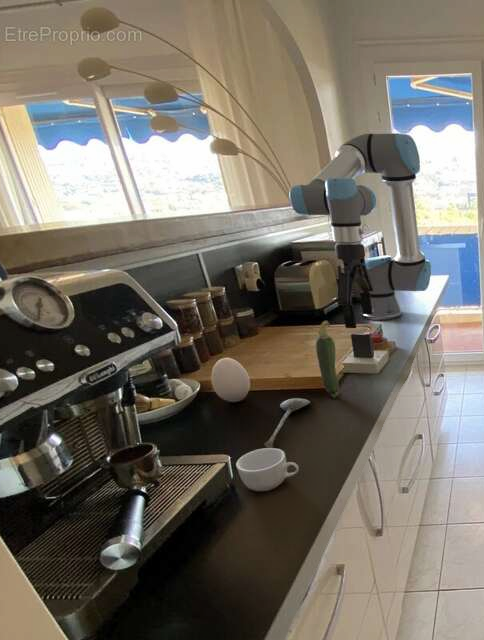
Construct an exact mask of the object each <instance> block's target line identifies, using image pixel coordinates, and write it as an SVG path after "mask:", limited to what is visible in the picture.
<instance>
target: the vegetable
mask: <svg viewBox="0 0 484 640" xmlns="http://www.w3.org/2000/svg"><path fill="white" fill-rule="evenodd" d="M327 327H330V323H329V321H328V320H324V321H323V322H321V323H320V326H319V329H318V337H317V339H316V342H315V351H316V356H317V361H318V367H319V371H320V376H321V381H322V384H323V387H324V390H325V391H326V392H327V394H329V395H331V397H333V398H334V399H336V397H338V395H339V394H340V384H339V380H338V379H339V378H338V375H337V372H336V344H335V341H334V339H333V337H331V336H329V335H328V334H329V333H328V329H327Z"/></svg>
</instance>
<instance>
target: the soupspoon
mask: <svg viewBox="0 0 484 640" xmlns="http://www.w3.org/2000/svg"><path fill="white" fill-rule="evenodd" d="M309 404H311V401H310V400H308V399H305V398H299V397H295V398H289V399H286V400H284V401H282V402H281V403H280V404H279V407H280V408H281V409H282V410H284V411H286V412H285V413H284V414H283V416H282V418H281V419H280V421H279V423H278V425H277V426H276V429H275V430H274V431H273V433H272V434H271V435H270V438H269V439H268V440H267V441H266V442H264V443H263V446H264V447H265V448H274V441H275V439H276V437H277V434H279V431H280V430H281V428H282V427H283V425H284V423H285V422H286V420H287V418H288V417H289V416H290V415H291V413H293V412H294V411H297V410H299V409H302V408H303V407H306V406H307V405H309Z"/></svg>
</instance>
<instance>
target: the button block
mask: <svg viewBox="0 0 484 640" xmlns="http://www.w3.org/2000/svg"><path fill="white" fill-rule="evenodd" d="M396 348H397V345H396V340H389V339H388V338H387V337H384V336H383V342H379V343H373V349H374V351H388V357H390V355H391V354H392V353H393V352H394V351H395V349H396Z"/></svg>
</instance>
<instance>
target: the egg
mask: <svg viewBox="0 0 484 640" xmlns="http://www.w3.org/2000/svg"><path fill="white" fill-rule="evenodd" d="M210 379H211V386H212V388H213V390H214V393H216V395H217V396H218V397H219V398H220V399H222V400H224V401H226V402H229V403H238V402H241V401H243V400H244V399H246V397H247V395H248V393H249V391H250V388H251V379H250V377H249V373H248V372H247V370H246V369H245V368H244V367H243V365H242V364H241V363H240V362H239V361H237V360H235V359H233V358H231V357H223V358H220V359H219V360H218V361H216V363H214V365H213V367H212V371H211V376H210Z"/></svg>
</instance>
